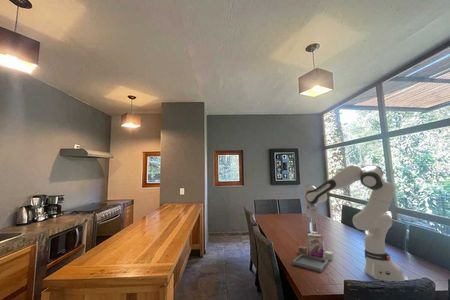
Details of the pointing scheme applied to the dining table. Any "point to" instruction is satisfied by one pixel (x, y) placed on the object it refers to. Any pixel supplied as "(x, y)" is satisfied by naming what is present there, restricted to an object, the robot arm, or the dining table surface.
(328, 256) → the sage cube
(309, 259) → the tray
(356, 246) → the dining table surface
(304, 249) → the walnut cube
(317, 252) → the candy bar box
